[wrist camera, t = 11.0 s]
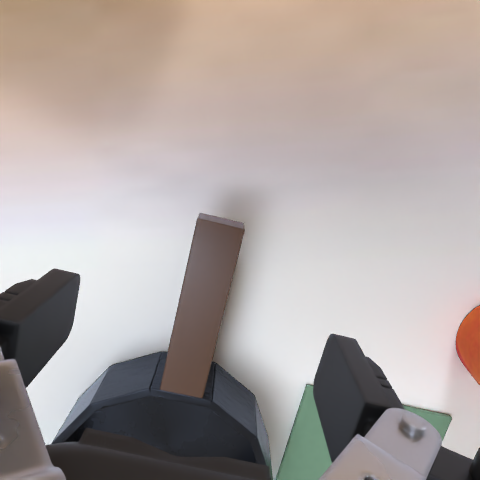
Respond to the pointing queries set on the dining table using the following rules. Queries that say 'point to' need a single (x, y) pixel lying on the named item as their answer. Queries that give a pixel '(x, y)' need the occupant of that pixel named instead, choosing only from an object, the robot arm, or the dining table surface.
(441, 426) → the cloth
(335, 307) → the dining table surface
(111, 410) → the pan
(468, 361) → the paper cup
